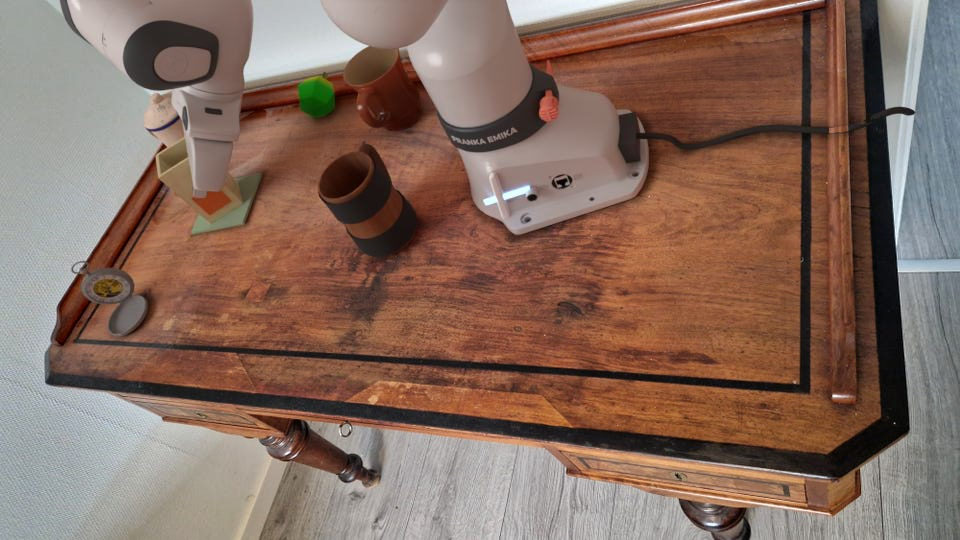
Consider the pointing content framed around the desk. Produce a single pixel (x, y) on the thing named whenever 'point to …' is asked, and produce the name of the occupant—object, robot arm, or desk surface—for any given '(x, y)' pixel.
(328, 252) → the desk surface
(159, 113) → the teacup with lid
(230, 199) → the bin
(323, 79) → the apple
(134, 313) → the pocket watch
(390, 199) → the mug
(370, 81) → the mug
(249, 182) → the mat
